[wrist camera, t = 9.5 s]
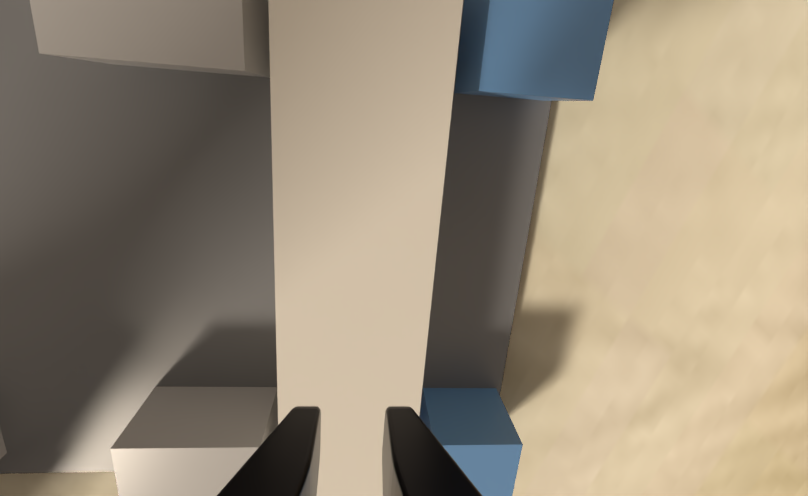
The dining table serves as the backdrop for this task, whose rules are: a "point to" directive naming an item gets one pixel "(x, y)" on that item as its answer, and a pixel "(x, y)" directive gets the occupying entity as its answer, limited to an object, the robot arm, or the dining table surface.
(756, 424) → the dining table surface
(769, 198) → the dining table surface
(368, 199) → the long white plank
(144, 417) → the miniature block city
